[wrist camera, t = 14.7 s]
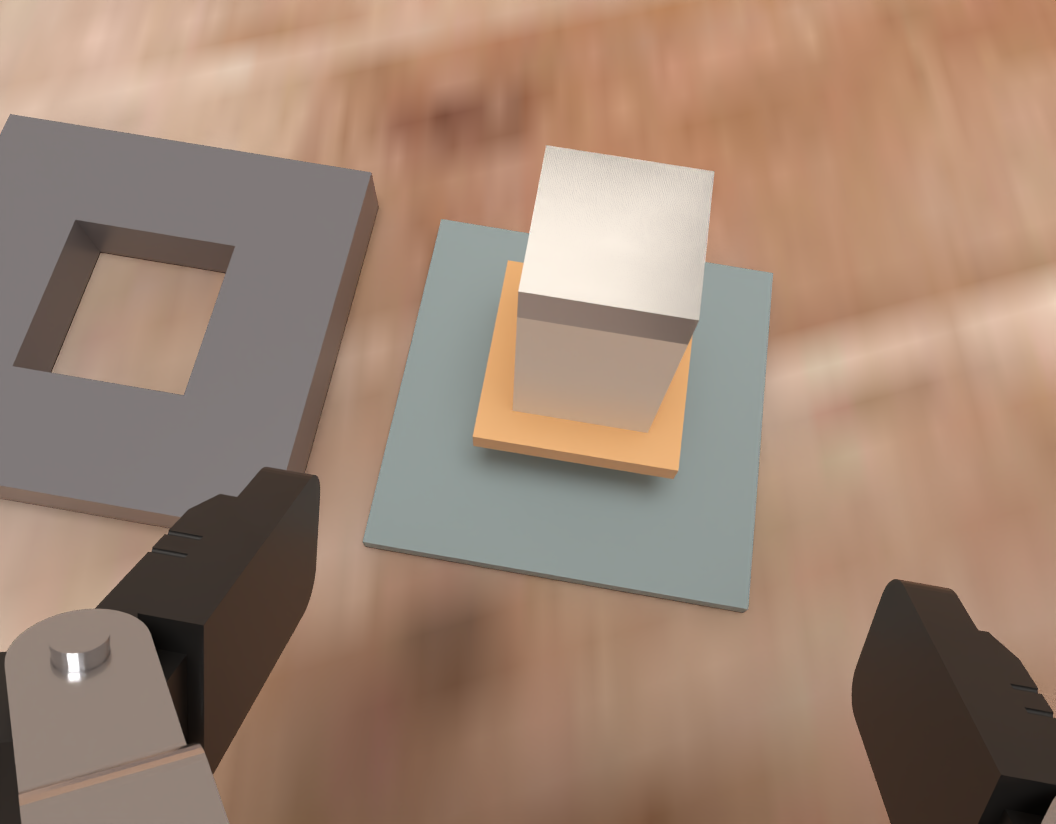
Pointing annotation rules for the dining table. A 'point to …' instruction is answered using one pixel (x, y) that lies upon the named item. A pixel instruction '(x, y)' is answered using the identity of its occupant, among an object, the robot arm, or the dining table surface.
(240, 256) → the socket box
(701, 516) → the mat
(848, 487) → the dining table surface
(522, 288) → the plug
